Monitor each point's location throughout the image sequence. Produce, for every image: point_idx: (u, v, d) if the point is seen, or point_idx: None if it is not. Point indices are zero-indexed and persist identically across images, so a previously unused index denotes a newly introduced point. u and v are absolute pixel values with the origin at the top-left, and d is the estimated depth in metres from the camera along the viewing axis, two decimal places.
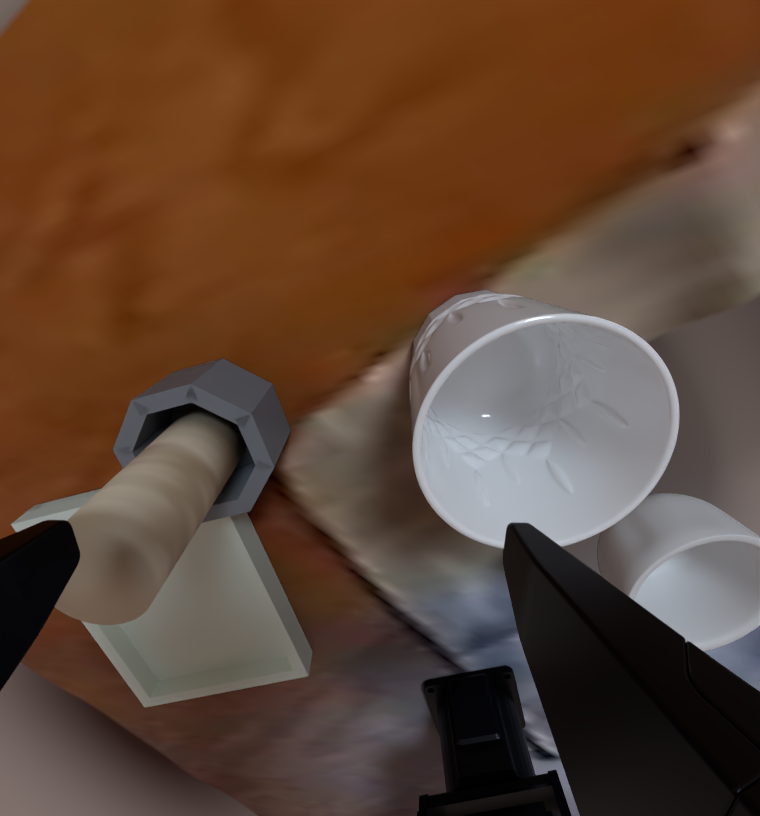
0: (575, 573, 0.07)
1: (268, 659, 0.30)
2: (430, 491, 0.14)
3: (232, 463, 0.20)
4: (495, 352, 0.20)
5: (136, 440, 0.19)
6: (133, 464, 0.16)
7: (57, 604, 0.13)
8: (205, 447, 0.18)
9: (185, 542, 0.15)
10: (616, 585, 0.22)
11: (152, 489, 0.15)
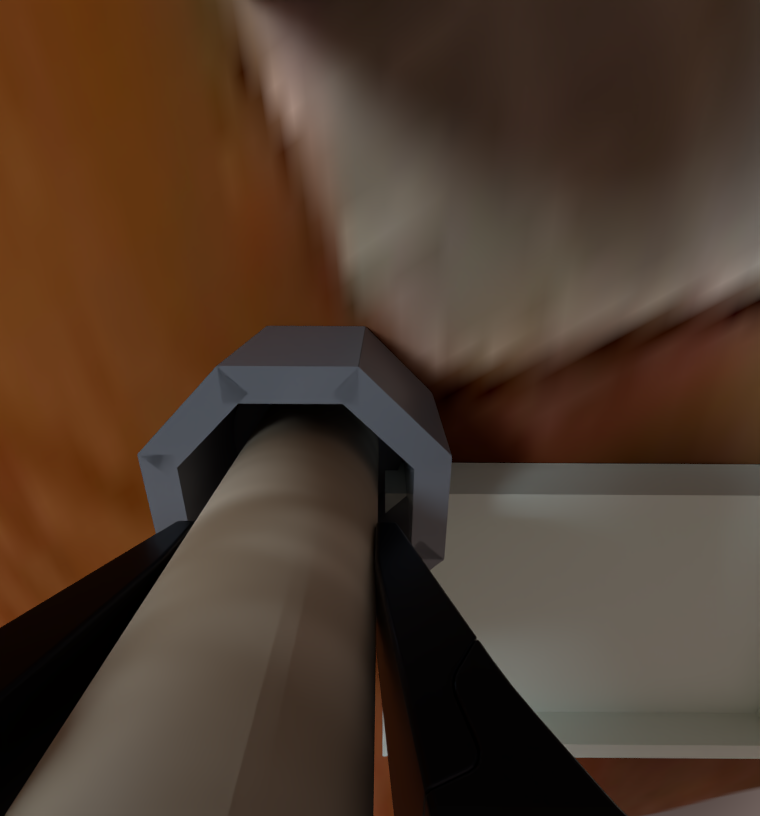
0: (408, 572, 0.07)
1: None
2: None
3: (322, 447, 0.09)
4: None
5: None
6: None
7: None
8: (230, 483, 0.08)
9: (282, 689, 0.04)
10: None
11: (91, 685, 0.05)
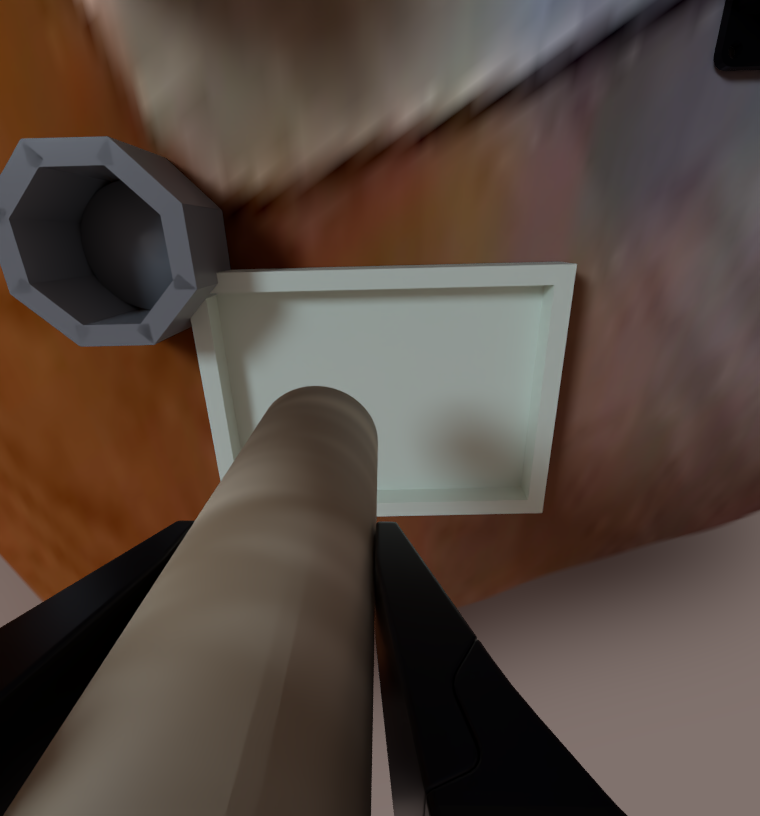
0: (408, 572, 0.07)
1: (538, 328, 0.19)
2: None
3: (321, 447, 0.09)
4: None
5: (67, 313, 0.16)
6: None
7: None
8: (229, 484, 0.08)
9: (280, 690, 0.04)
10: None
11: (88, 687, 0.05)
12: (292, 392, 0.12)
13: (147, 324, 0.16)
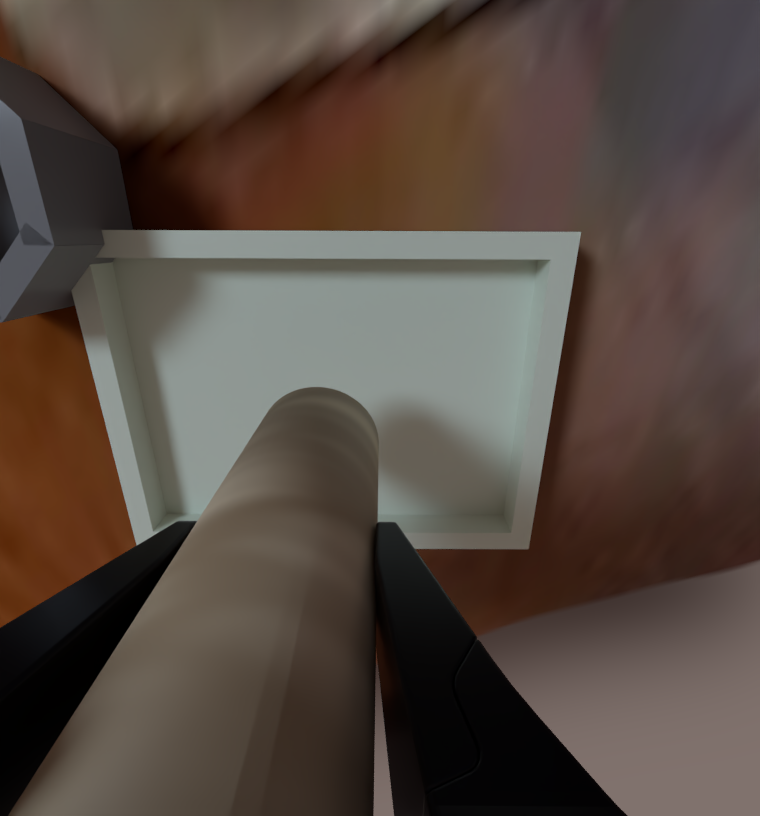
0: (408, 572, 0.07)
1: (529, 318, 0.15)
2: None
3: (322, 449, 0.09)
4: None
5: None
6: None
7: None
8: (230, 486, 0.08)
9: (283, 693, 0.04)
10: None
11: (90, 690, 0.05)
12: (293, 393, 0.12)
13: None
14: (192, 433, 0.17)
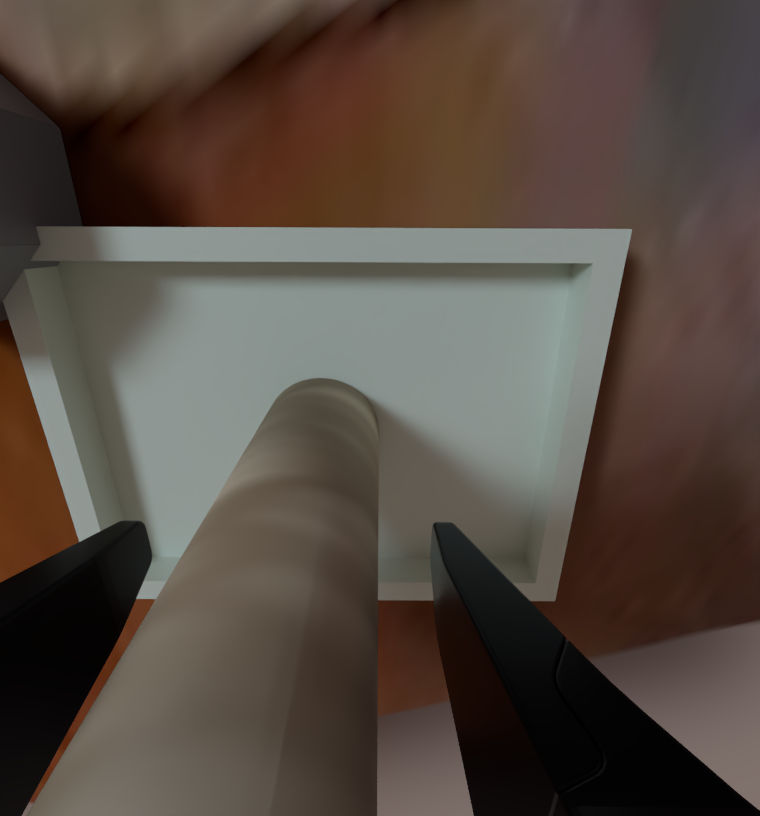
0: (480, 572, 0.07)
1: (561, 333, 0.13)
2: None
3: (328, 435, 0.10)
4: None
5: None
6: None
7: None
8: (245, 468, 0.09)
9: (301, 634, 0.05)
10: None
11: (138, 635, 0.06)
12: (298, 384, 0.13)
13: None
14: (160, 466, 0.14)
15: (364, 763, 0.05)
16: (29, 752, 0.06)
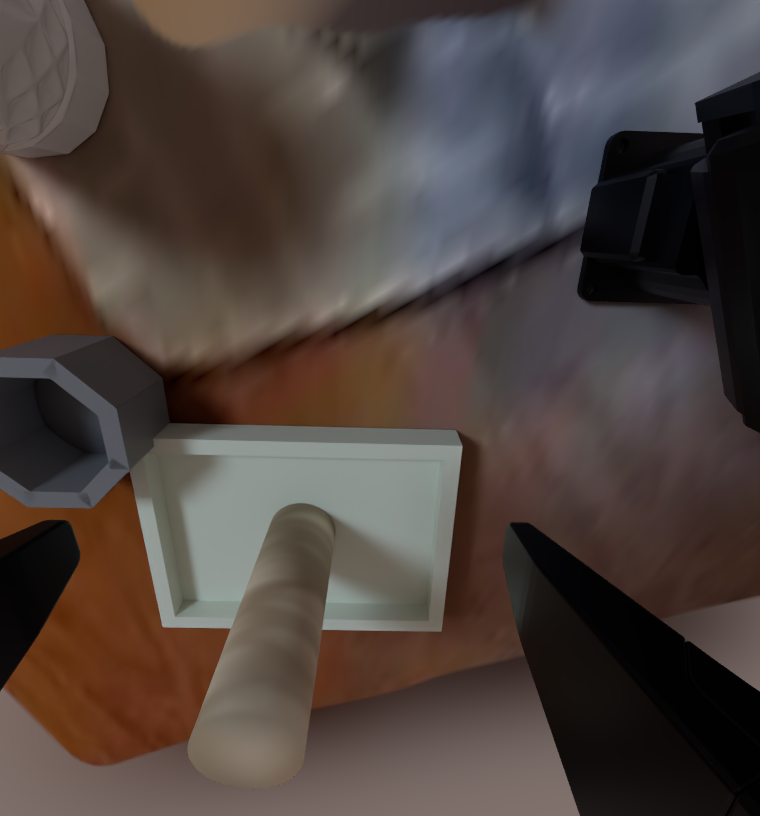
0: (575, 573, 0.07)
1: (437, 483, 0.23)
2: None
3: (302, 551, 0.20)
4: None
5: (16, 481, 0.18)
6: None
7: (266, 784, 0.14)
8: (261, 572, 0.19)
9: (286, 654, 0.15)
10: None
11: (226, 653, 0.15)
12: (289, 507, 0.23)
13: (86, 493, 0.19)
14: (204, 549, 0.24)
15: (305, 697, 0.14)
16: None
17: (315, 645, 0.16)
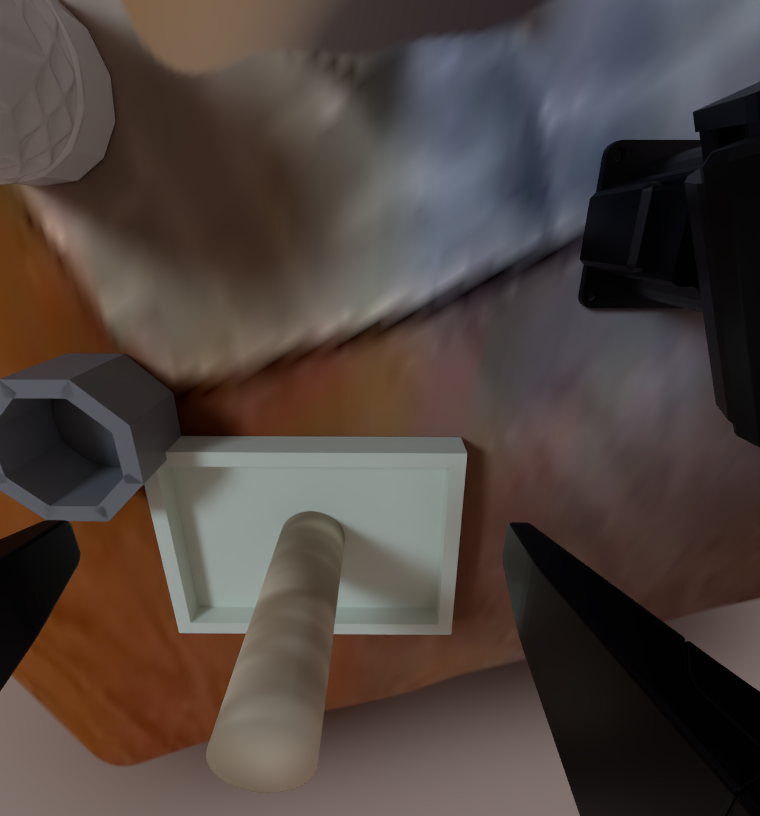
0: (575, 573, 0.07)
1: (443, 490, 0.23)
2: None
3: (312, 559, 0.20)
4: None
5: (36, 497, 0.19)
6: None
7: (282, 788, 0.14)
8: (273, 581, 0.19)
9: (298, 661, 0.15)
10: None
11: (241, 661, 0.16)
12: (298, 515, 0.23)
13: (103, 507, 0.19)
14: (218, 556, 0.25)
15: (318, 703, 0.15)
16: None
17: (326, 652, 0.17)
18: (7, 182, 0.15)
